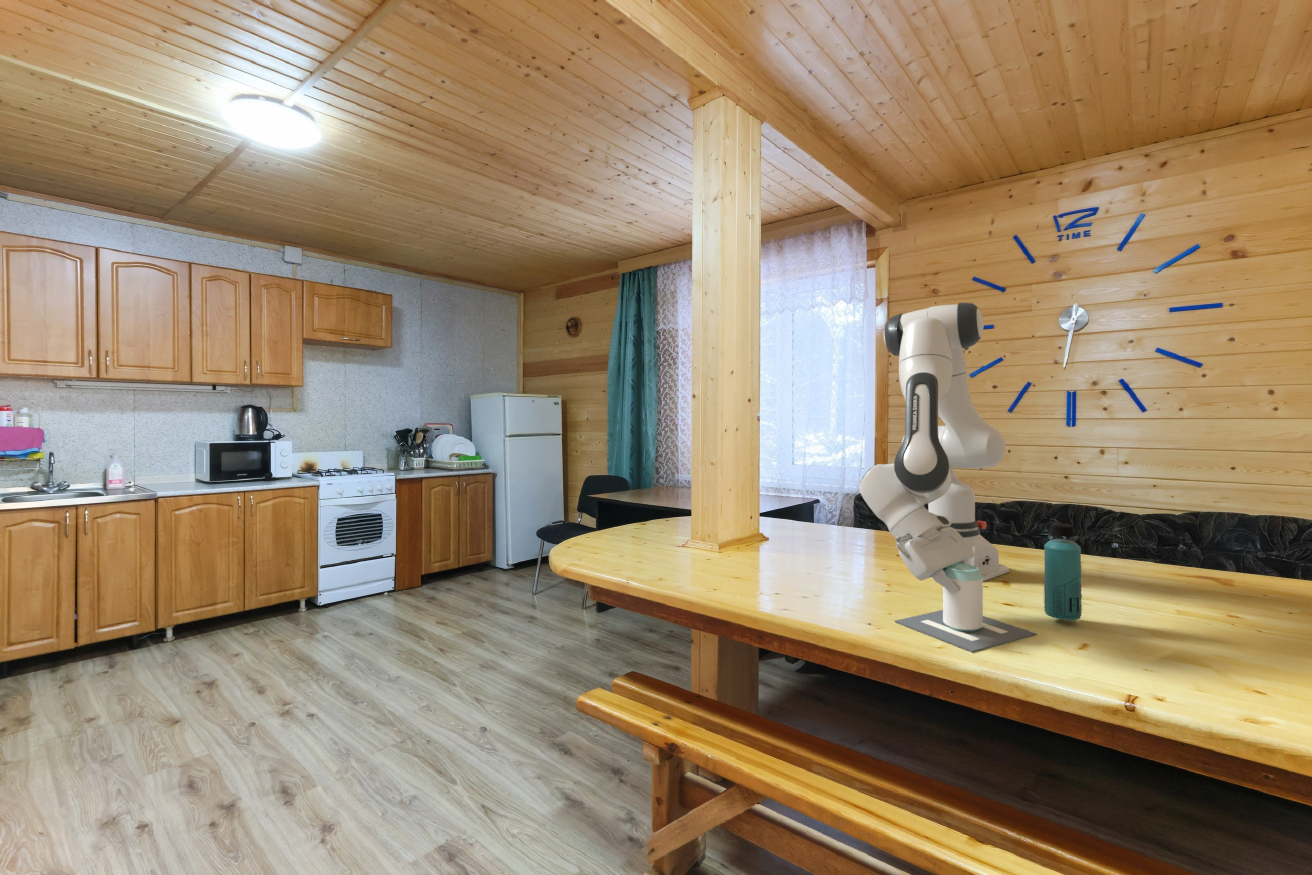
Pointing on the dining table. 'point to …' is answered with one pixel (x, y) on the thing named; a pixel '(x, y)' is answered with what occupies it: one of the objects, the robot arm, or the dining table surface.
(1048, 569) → the beverage bottle
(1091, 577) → the dining table surface
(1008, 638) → the letter mat
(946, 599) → the can
